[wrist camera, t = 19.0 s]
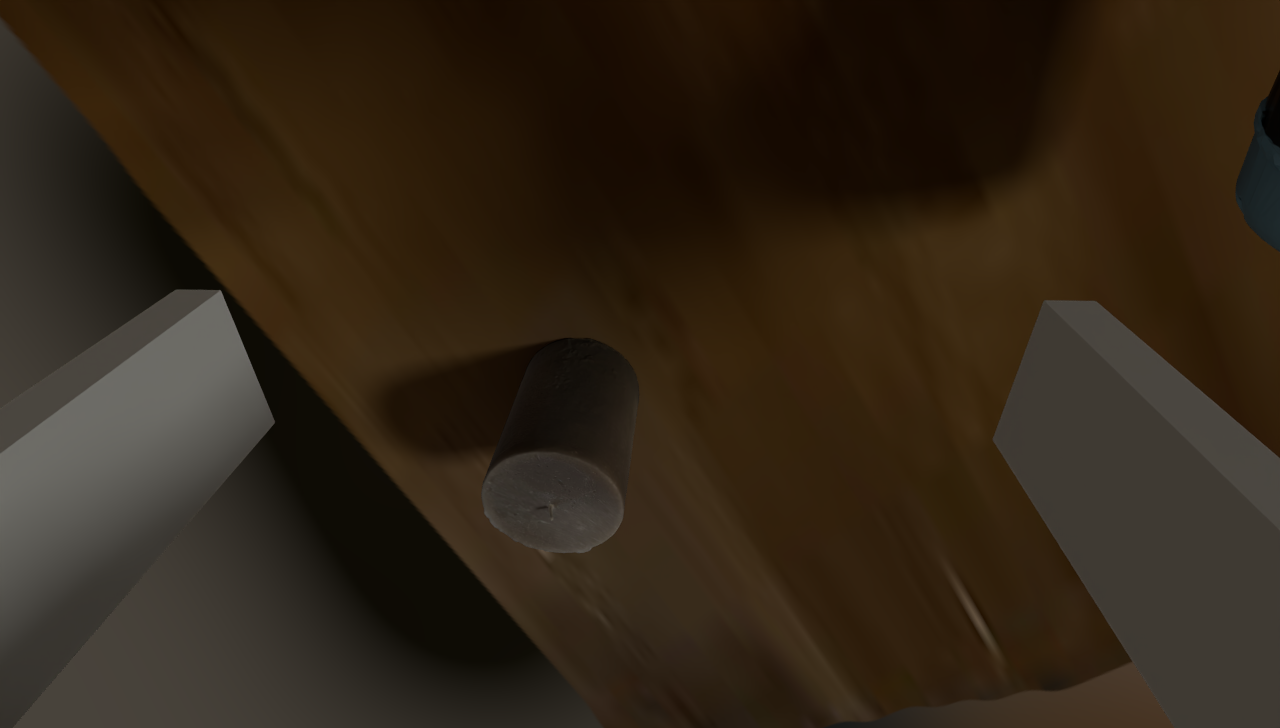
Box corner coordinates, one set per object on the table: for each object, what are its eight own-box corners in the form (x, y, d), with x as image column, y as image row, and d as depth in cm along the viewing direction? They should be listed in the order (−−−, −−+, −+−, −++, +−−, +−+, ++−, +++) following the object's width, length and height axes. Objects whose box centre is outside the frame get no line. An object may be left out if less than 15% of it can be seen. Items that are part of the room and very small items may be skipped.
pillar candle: (598, 318, 50) (567, 442, 38) (660, 406, 54) (650, 544, 42) (501, 367, 53) (442, 496, 41) (566, 447, 58) (531, 586, 45)
